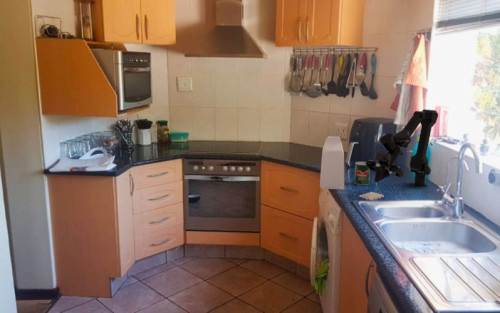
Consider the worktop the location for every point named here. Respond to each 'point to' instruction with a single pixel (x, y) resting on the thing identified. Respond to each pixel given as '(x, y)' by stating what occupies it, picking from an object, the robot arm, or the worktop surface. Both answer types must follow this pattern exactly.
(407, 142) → the robot arm
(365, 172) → the canned tomato
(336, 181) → the milk
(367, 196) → the tile
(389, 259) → the worktop surface
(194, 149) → the worktop surface
